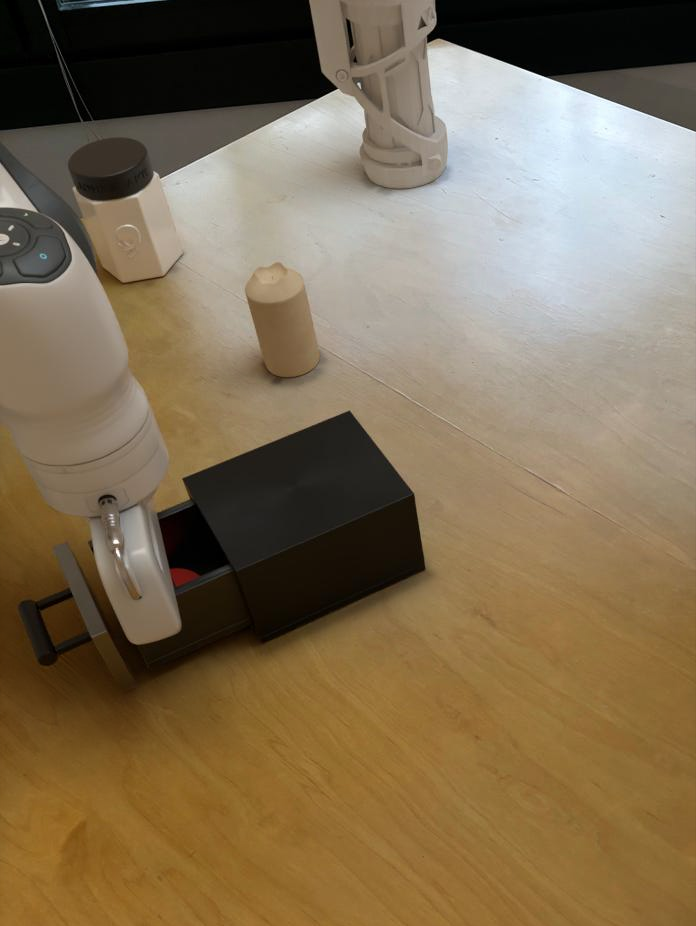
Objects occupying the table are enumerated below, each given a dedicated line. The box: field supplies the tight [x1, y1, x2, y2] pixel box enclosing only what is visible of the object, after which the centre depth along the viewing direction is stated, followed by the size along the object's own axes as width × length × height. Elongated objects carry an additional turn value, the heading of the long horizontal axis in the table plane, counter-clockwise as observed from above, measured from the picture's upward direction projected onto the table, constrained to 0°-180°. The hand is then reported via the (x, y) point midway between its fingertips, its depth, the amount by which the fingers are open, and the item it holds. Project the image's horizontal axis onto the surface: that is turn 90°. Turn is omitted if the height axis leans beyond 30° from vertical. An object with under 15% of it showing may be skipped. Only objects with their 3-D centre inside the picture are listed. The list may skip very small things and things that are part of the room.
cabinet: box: [181, 410, 426, 644], centre depth 86 cm, size 15×12×9 cm
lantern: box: [308, 0, 449, 190], centre depth 118 cm, size 13×10×25 cm
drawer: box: [17, 498, 253, 693], centre depth 82 cm, size 18×10×7 cm, turn 119°
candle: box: [244, 261, 321, 378], centre depth 102 cm, size 6×6×10 cm
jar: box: [67, 136, 184, 284], centre depth 114 cm, size 9×8×12 cm
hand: (158, 588), depth 83 cm, fingers closed on lid, 2 cm apart
